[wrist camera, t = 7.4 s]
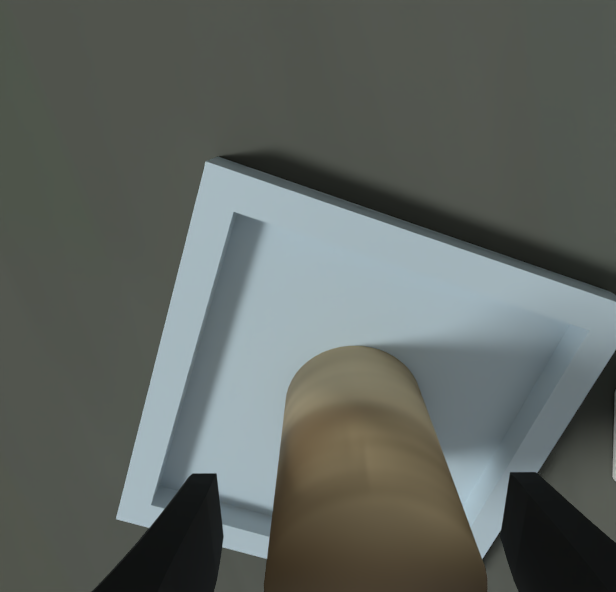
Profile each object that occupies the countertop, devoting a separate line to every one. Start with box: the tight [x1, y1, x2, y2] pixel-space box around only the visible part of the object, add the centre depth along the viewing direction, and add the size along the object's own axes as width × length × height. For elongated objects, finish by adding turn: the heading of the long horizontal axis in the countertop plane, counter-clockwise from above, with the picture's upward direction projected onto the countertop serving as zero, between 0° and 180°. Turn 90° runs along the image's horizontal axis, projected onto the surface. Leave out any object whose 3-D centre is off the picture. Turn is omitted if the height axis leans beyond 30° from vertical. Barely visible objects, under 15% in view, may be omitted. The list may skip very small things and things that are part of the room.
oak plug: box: [264, 346, 487, 592], centre depth 13 cm, size 4×4×6 cm
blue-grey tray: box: [116, 156, 616, 559], centre depth 16 cm, size 12×12×2 cm
